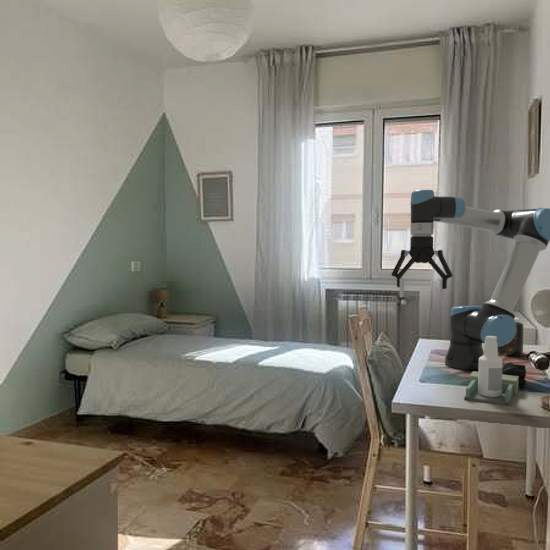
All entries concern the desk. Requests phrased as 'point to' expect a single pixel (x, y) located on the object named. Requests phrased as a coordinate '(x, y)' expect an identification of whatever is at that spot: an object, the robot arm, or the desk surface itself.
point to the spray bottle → (490, 369)
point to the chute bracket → (505, 399)
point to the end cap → (516, 373)
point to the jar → (514, 342)
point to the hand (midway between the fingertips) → (421, 297)
